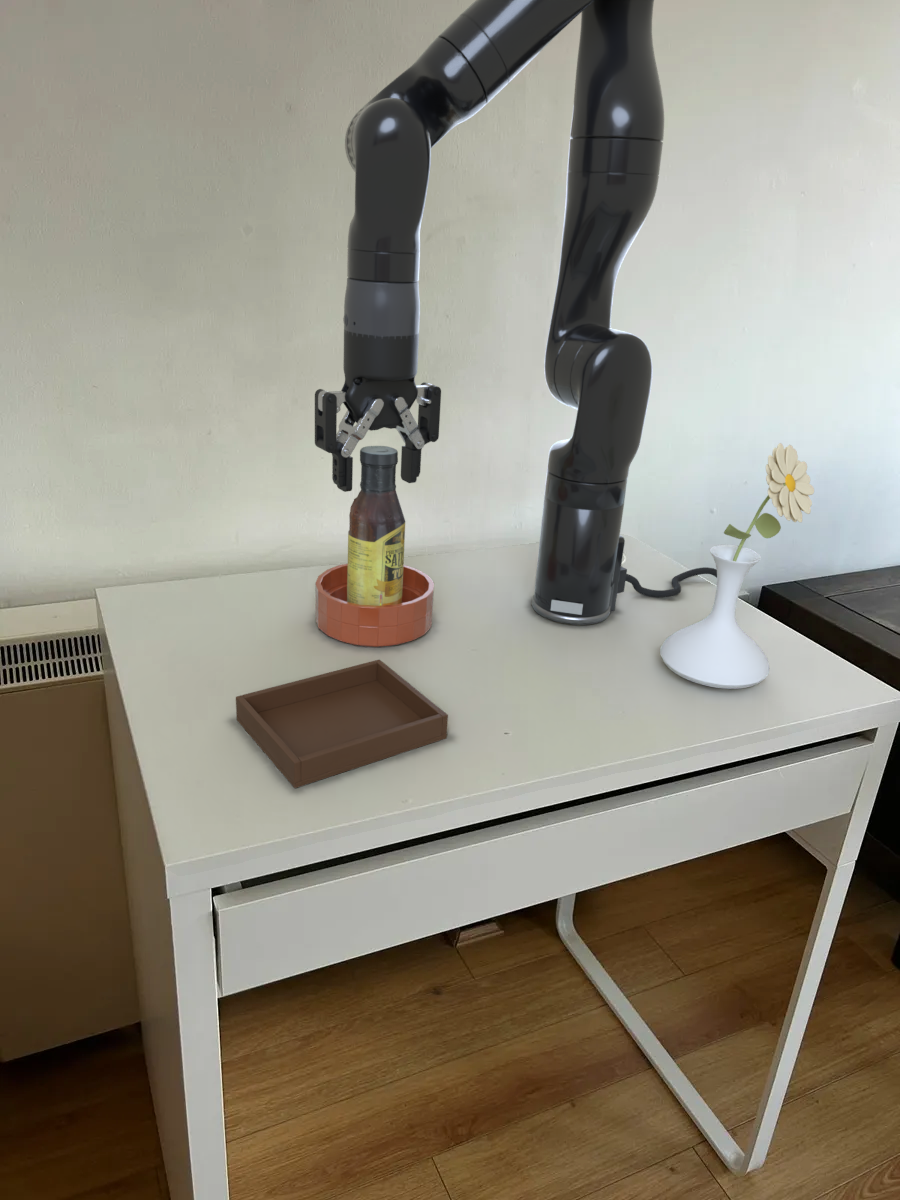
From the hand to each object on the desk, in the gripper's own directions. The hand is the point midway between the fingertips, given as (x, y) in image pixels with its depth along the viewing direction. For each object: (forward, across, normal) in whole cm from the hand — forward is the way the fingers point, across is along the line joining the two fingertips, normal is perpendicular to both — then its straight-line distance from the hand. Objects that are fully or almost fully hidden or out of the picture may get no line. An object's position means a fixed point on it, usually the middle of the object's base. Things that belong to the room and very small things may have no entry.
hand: (377, 485), depth 97 cm
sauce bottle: (+16, 0, 0) cm, 16 cm away
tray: (+17, -14, -18) cm, 28 cm away
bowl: (+16, 0, 0) cm, 16 cm away
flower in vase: (+17, +27, -28) cm, 42 cm away
